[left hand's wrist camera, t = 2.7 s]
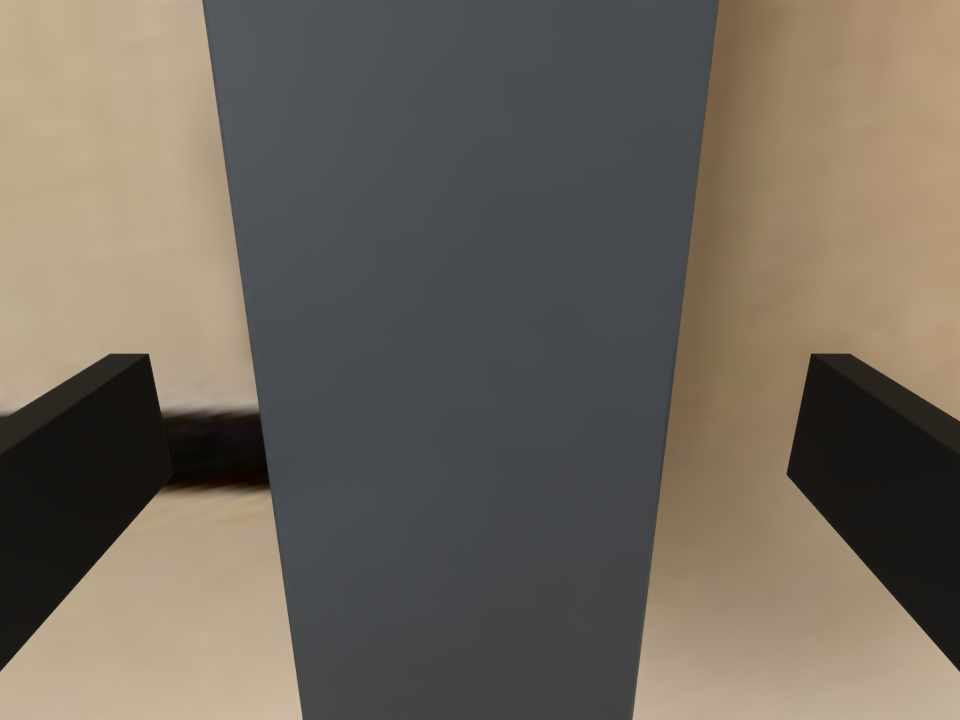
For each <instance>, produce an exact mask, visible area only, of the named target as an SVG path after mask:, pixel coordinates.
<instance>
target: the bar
mask: <svg viewBox="0 0 960 720" xmlns="http://www.w3.org/2000/svg"><path fill="white" fill-rule="evenodd" d="M202 1H203V8H204V15H205V22H206V30H207V37H208V44H209V51H210V58H211V65H212V73H213V80H214V87H215V94H216V101H217V108H218V115H219V123H220V130H221V137H222V144H223V151H224V158H225V166H226V173H227V180H228V187H229V194H230V201H231V209H232V216H233V223H234V230H235V237H236V244H237V251H238V259H239V266H240V273H241V280H242V287H243V294H244V302H245V309H246V316H247V323H248V330H249V337H250V345H251V352H252V359H253V366H254V373H255V380H256V388H257V395H258V402H259V409H260V416H261V423H262V430H263V438H264V445H265V452H266V459H267V466H268V473H269V481H270V488H271V495H272V502H273V509H274V516H275V524H276V531H277V538H278V545H279V552H280V559H281V567H282V574H283V581H284V588H285V595H286V602H287V609H288V617H289V624H290V631H291V638H292V645H293V652H294V660H295V667H296V674H297V681H298V688H299V695H300V703H301V710H302V717H303V720H632V718H633V710H634V702H635V693H636V685H637V677H638V668H639V660H640V652H641V643H642V635H643V627H644V618H645V610H646V602H647V593H648V585H649V577H650V568H651V560H652V552H653V543H654V535H655V527H656V518H657V510H658V502H659V493H660V485H661V477H662V468H663V460H664V452H665V443H666V435H667V427H668V418H669V410H670V402H671V393H672V385H673V377H674V368H675V360H676V352H677V343H678V335H679V327H680V318H681V310H682V302H683V294H684V285H685V277H686V269H687V260H688V252H689V244H690V235H691V227H692V219H693V210H694V202H695V194H696V185H697V177H698V169H699V160H700V152H701V144H702V135H703V127H704V119H705V110H706V102H707V94H708V85H709V77H710V69H711V60H712V52H713V44H714V35H715V27H716V19H717V10H718V2H719V0H202Z"/></svg>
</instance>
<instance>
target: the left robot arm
mask: <svg viewBox="0 0 960 720" xmlns="http://www.w3.org/2000/svg"><path fill="white" fill-rule="evenodd" d="M172 476H173V470H172V465H171V460H170V455H169V450H168V445H167V440H166V436H165V431H164V426H163V421H162V416H161V411H160V406H159V401H158V397H157V392H156V387H155V382H154V377H153V372H152V367H151V362H150V357H149V354H109V355H107V356H106V357H104V358H102V359H101V360H99V361H98V362H96V363H94V364H93V365H91V366H89V367H88V368H86V369H85V370H83V371H81V372H80V373H78V374H76V375H75V376H73V377H72V378H70V379H68V380H67V381H65V382H63V383H62V384H60V385H59V386H57V387H55V388H54V389H52V390H50V391H49V392H47V393H46V394H44V395H42V396H41V397H39V398H37V399H36V400H34V401H33V402H31V403H29V404H28V405H26V406H24V407H23V408H21V409H20V410H18V411H16V412H15V413H13V414H11V415H10V416H8V417H7V418H5V419H3V420H2V421H0V671H1V670H2V669H3V668H4V667H5V666H6V665H7V663H8V662H9V661H10V660H11V659H12V658H13V657H14V655H15V654H16V653H17V652H18V651H19V650H20V649H21V647H22V646H23V645H24V644H25V643H26V642H27V641H28V639H29V638H30V637H31V636H32V635H33V634H34V633H35V632H36V630H37V629H38V628H39V627H40V626H41V625H42V624H43V622H44V621H45V620H46V619H47V618H48V617H49V616H50V614H51V613H52V612H53V611H54V610H55V609H56V608H57V606H58V605H59V604H60V603H61V602H62V601H63V600H64V599H65V597H66V596H67V595H68V594H69V593H70V592H71V591H72V589H73V588H74V587H75V586H76V585H77V584H78V583H79V581H80V580H81V579H82V578H83V577H84V576H85V575H86V574H87V572H88V571H89V570H90V569H91V568H92V567H93V566H94V564H95V563H96V562H97V561H98V560H99V559H100V558H101V556H102V555H103V554H104V553H105V552H106V551H107V550H108V548H109V547H110V546H111V545H112V544H113V543H114V542H115V541H116V539H117V538H118V537H119V536H120V535H121V534H122V533H123V531H124V530H125V529H126V528H127V527H128V526H129V525H130V523H131V522H132V521H133V520H134V519H135V518H136V517H137V516H138V514H139V513H140V512H141V511H142V510H143V509H144V508H145V506H146V505H147V504H148V503H149V502H150V501H151V500H152V498H153V497H154V496H155V495H156V494H157V493H158V492H159V490H160V489H161V488H162V487H163V486H164V485H165V484H166V483H167V481H168V480H169V479H170V478H171V477H172ZM787 476H788V477H789V478H790V479H791V480H792V481H793V483H794V484H795V485H796V486H797V487H798V488H799V489H800V490H801V492H802V493H803V494H804V495H805V496H806V497H807V498H808V500H809V501H810V502H811V503H812V504H813V505H814V506H815V508H816V509H817V510H818V511H819V512H820V513H821V514H822V516H823V517H824V518H825V519H826V520H827V521H828V522H829V523H830V525H831V526H832V527H833V528H834V529H835V530H836V531H837V533H838V534H839V535H840V536H841V537H842V538H843V539H844V541H845V542H846V543H847V544H848V545H849V546H850V547H851V548H852V550H853V551H854V552H855V553H856V554H857V555H858V556H859V558H860V559H861V560H862V561H863V562H864V563H865V564H866V566H867V567H868V568H869V569H870V570H871V571H872V572H873V574H874V575H875V576H876V577H877V578H878V579H879V580H880V581H881V583H882V584H883V585H884V586H885V587H886V588H887V589H888V591H889V592H890V593H891V594H892V595H893V596H894V597H895V599H896V600H897V601H898V602H899V603H900V604H901V605H902V606H903V608H904V609H905V610H906V611H907V612H908V613H909V614H910V616H911V617H912V618H913V619H914V620H915V621H916V622H917V624H918V625H919V626H920V627H921V628H922V629H923V630H924V632H925V633H926V634H927V635H928V636H929V637H930V638H931V639H932V641H933V642H934V643H935V644H936V645H937V646H938V647H939V649H940V650H941V651H942V652H943V653H944V654H945V655H946V657H947V658H948V659H949V660H950V661H951V662H952V663H953V665H954V666H955V667H956V668H957V669H958V670H959V671H960V421H958V420H957V419H955V418H953V417H952V416H950V415H949V414H947V413H945V412H944V411H942V410H940V409H939V408H937V407H936V406H934V405H932V404H931V403H929V402H927V401H926V400H924V399H923V398H921V397H919V396H918V395H916V394H914V393H913V392H911V391H910V390H908V389H906V388H905V387H903V386H901V385H900V384H898V383H897V382H895V381H893V380H892V379H890V378H888V377H887V376H885V375H884V374H882V373H880V372H879V371H877V370H875V369H874V368H872V367H871V366H869V365H867V364H866V363H864V362H862V361H861V360H859V359H858V358H856V357H854V356H853V355H851V354H811V357H810V362H809V367H808V372H807V377H806V382H805V387H804V392H803V397H802V401H801V406H800V411H799V416H798V421H797V426H796V431H795V436H794V440H793V445H792V450H791V455H790V460H789V465H788V470H787Z"/></svg>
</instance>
